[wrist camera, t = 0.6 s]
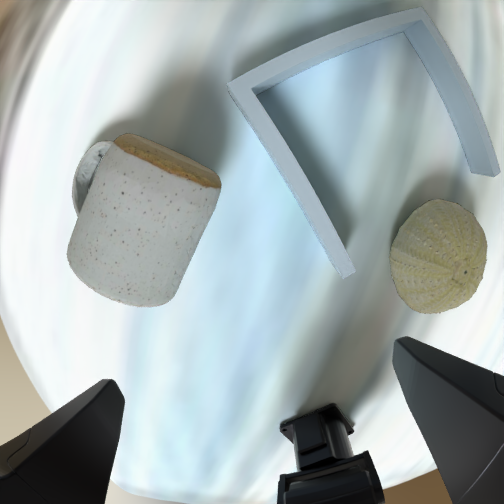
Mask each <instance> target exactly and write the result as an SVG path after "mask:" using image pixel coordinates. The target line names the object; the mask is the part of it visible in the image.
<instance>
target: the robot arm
mask: <svg viewBox="0 0 504 504" xmlns="http://www.w3.org/2000/svg"><path fill="white" fill-rule="evenodd" d="M392 362H393V367H394V370H395V372H396V375H397V378H398V380H399V383H400V386H401V388H402V391H403V394H404V397H405V399H406V402H407V404H408V407H409V409H410V411H411V413H412V415H413V417H414V419H415V421H416V423H417V425H418V427H419V429H420V431H421V433H422V435H423V437H424V439H425V441H426V444H427V446H428V448H429V450H430V452H431V454H432V456H433V459H434V461H435V463H436V465H437V467H438V470H439V472H440V474H441V477H442V479H443V481H444V484H445V486H446V488H447V490H448V493H449V495H450V498H451V500H452V503H453V504H504V376H502V375H500V374H498V373H493V372H492V371H490V370H488V369H485V368H483V367H480V366H478V365H475V364H473V363H470V362H468V361H466V360H463V359H461V358H458V357H456V356H453V355H451V354H449V353H446V352H444V351H441V350H439V349H437V348H434V347H432V346H430V345H427V344H425V343H422V342H420V341H418V340H415V339H413V338H411V337H408V336H405V337H402V338H398V339H396V340H395V342H394V349H393V360H392ZM124 406H125V399H124V396H123V394H122V392H121V391H120V389H119V387H118V385H117V383H116V382H115V381H114V380H113V379H102V380H101V381H99V382H98V383H96V384H95V385H93V386H92V387H90V388H89V389H88V390H86V391H85V392H83V393H82V394H80V395H79V396H77V397H76V398H74V399H73V400H71V401H70V402H68V403H67V404H65V405H64V406H62V407H61V408H60V409H58V410H57V411H55V412H54V413H52V414H51V415H49V416H48V417H46V418H45V419H43V420H42V421H40V422H39V423H37V424H36V425H34V426H33V427H32V428H29V429H28V430H26V431H25V432H23V433H22V434H20V435H19V436H17V437H15V438H14V439H12V440H10V441H8V442H7V443H5V444H3V445H1V446H0V504H105V499H106V494H107V490H108V485H109V480H110V476H111V472H112V467H113V463H114V459H115V455H116V451H117V447H118V442H119V438H120V432H121V425H122V418H123V412H124ZM280 432H281V433H282V434H283V435H284V436H285V437H287V438H288V439H289V440H290V441H291V442H292V443H293V444H294V450H295V457H296V465H297V472H295V473H290V474H281V475H280V481H279V482H278V497H277V504H384V503H385V499H384V494H383V490H382V486H381V483H380V480H379V477H378V474H377V472H376V469H375V467H374V464H373V461H372V459H371V456H370V454H369V451H368V450H367V451H364V452H363V453H361V454H358V455H355V456H354V454H353V451H352V448H351V444H350V441H349V438H348V435H350V434H352V433H353V432H354V429H353V427H352V425H351V424H350V423H349V421H348V420H347V419H346V417H345V416H344V414H343V413H342V412H341V410H340V409H339V407H338V406H337V405H336V404H330V405H328V406H326V407H324V408H321V409H319V410H317V411H315V412H312V413H310V414H308V415H306V416H303V417H301V418H298V419H296V420H294V421H291V422H289V423H286V424H283V425H281V426H280Z"/></svg>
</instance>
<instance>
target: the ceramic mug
mask: <svg viewBox="0 0 504 504" xmlns="http://www.w3.org/2000/svg"><path fill="white" fill-rule="evenodd" d="M105 153H106V154H105ZM104 154H105V155H104ZM103 155H104V157H103V159H102V161H101V158H102V156H103ZM100 161H101V162H100ZM99 162H100V164H99V166H98V169H97V172H96V174H95V177H94V179H93V182H92V185H91V187H90V190H89V192H88V188H89V182H90V179H91V177H92V175H93V173H94V171H95V169H96V167H97V165H98V163H99ZM220 192H221V181H220V178H219V176H218V175H217V174H216V173H215V172H214V171H212V170H211V169H209V168H207V167H205V166H203V165H202V164H200V163H198V162H196V161H194V160H192V159H190V158H188V157H186V156H184V155H182V154H180V153H178V152H175V151H173V150H171V149H169V148H167V147H165V146H162V145H160V144H158V143H155V142H153V141H151V140H148V139H145V138H143V137H140V136H137V135H134V134H128V133H126V134H124V135H121V136H119V137H118V138H116V140H115V141H114V142H113V141H100V142H97V143H96V144H94V145H93V146H92V147H90V148H89V149H88V150H87V152H86V153H85V154H84V156H83V157H82V159H81V161H80V163H79V165H78V167H77V169H76V172H75V175H74V180H73V186H72V198H73V204H74V208H75V211H76V213H77V216H78V219H77V222H76V225H75V227H74V230H73V233H72V236H71V239H70V242H69V245H68V250H67V258H68V262H69V265H70V267H71V269H72V270H73V272H74V273H75V274H76V276H77V277H78V278H79V279H80V280H81V281H82V282H83V283H84V284H86V285H87V286H88V287H89V288H91V289H93V290H94V291H95V292H97V293H99V294H100V295H102V296H104V297H107V298H109V299H111V300H114V301H117V302H119V303H123V304H126V305H130V306H136V307H155V306H160V305H163V304H165V303H167V302H169V301H170V300H171V299H172V298H173V297H174V296H175V294H176V292H177V290H178V288H179V285H180V283H181V280H182V278H183V276H184V274H185V272H186V269H187V267H188V265H189V263H190V261H191V259H192V256H193V254H194V252H195V250H196V247H197V245H198V243H199V241H200V239H201V236H202V234H203V232H204V230H205V228H206V226H207V224H208V222H209V220H210V218H211V216H212V214H213V212H214V210H215V207H216V204H217V201H218V198H219V195H220Z"/></svg>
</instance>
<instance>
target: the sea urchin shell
mask: <svg viewBox="0 0 504 504" xmlns="http://www.w3.org/2000/svg"><path fill="white" fill-rule="evenodd" d="M486 252H487V241H486V237H485V234H484V231H483V229H482V227H481V226H480V224H479V223H478V221H477V220H476V219H475V217H474V216H473V214H472V213H471V212H468V211H467V210H465V209H464V208H462V207H461V205H459V204H458V203H454V202H450V201H446V200H441V199H435V200H429V201H428V202H426V203H424V204H423V205H422V206H421V207H419V208H418V209H415V210H414V211H413V213H412V214H411V215H410V216H409V218H408V219H407V220H406V221H405V223H404V224H403V225H402V226H401V227H400V228H399V232H398V234H397V236H396V238H395V239H394V242H393V244H392V246H391V251H390V256H389V258H390V264H391V273H392V274H391V276H392V277H393V280H394V282H395V285H396V289H397V293H398V294H399V296H400V297H401V298H402V299H403V300H404V301H405V303H406V304H407V305H408V306H409V307H410V308H411V309H413V310H415V311H417V312H419V313H424V314H426V313H427V314H431V313H436V314H437V313H441V312H444V311H447V310H449V309H454V308H456V307H458V306H459V305H461V304H463V303H464V302H466V301H468V300H469V299H470V298H471V297H472V296H473V294H474V293H475V292H476V290H477V288H478V285H479V283H480V281H481V280H482V279H483V272H484V268H485V264H486V261H487V259H486Z"/></svg>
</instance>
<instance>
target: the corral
mask: <svg viewBox="0 0 504 504" xmlns="http://www.w3.org/2000/svg"><path fill="white" fill-rule="evenodd" d="M401 32H404V33H405V35H406V36H407V38H408V40H409V41H410V43H411V44H412V46H413V47H414V49H415V51H416V52H417V54H418V55H419V57H420V59H421V60H422V62H423V64H424V66H425V67H426V69H427V71H428V73H429V75H430V76H431V78H432V80H433V82H434V84H435V86H436V88H437V90H438V92H439V94H440V96H441V98H442V100H443V102H444V104H445V106H446V108H447V110H448V113H449V115H450V117H451V119H452V122H453V124H454V126H455V129H456V131H457V134H458V136H459V139H460V141H461V144H462V146H463V149H464V152H465V155H466V157H467V160H468V163H469V166H470V169H471V172H472V173H475V174H480V175H486V176H491V177H495V176H496V175H498V174H499V173H500V168H499V164H498V161H497V158H496V154H495V151H494V148H493V145H492V142H491V139H490V136H489V133H488V130H487V128H486V125H485V122H484V120H483V117H482V115H481V112H480V110H479V107H478V105H477V103H476V100H475V98H474V96H473V94H472V91H471V89H470V87H469V85H468V83H467V81H466V79H465V77H464V75H463V73H462V71H461V69H460V67H459V65H458V63H457V61H456V60H455V58H454V56H453V54H452V52H451V51H450V49H449V47H448V45H447V44H446V42H445V40H444V39H443V37H442V36H441V34H440V32H439V31H438V29H437V28H436V26H435V25H434V23H433V22H432V20H431V19H430V17H429V16H428V14H427V13H426V12H425V10H424V9H423V7H417V8H413V9H408V10H404V11H400V12H396V13H392V14H389V15H385V16H382V17H378V18H375V19H371V20H368V21H365V22H362V23H359V24H356V25H353V26H350V27H347V28H344V29H342V30H339V31H336V32H334V33H331V34H328V35H326V36H323V37H321V38H318V39H316V40H313V41H311V42H309V43H306V44H304V45H302V46H299V47H297V48H295V49H293V50H290V51H288V52H286V53H284V54H282V55H280V56H278V57H276V58H274V59H272V60H270V61H268V62H266V63H264V64H262V65H260V66H258V67H256V68H254V69H252V70H250V71H248V72H246V73H245V74H243V75H241V76H239V77H237V78H236V79H234V80H232V81H230V82H229V83H227V87H228V90H229V94H230V96H231V97H232V98H233V100H234V101H235V103H236V104H237V106H238V107H239V109H240V110H241V112H242V113H243V115H244V116H245V118H246V119H247V121H248V122H249V124H250V126H251V127H252V129H253V130H254V132H255V133H256V135H257V136H258V138H259V140H260V141H261V143H262V144H263V146H264V147H265V149H266V151H267V152H268V154H269V155H270V157H271V159H272V160H273V162H274V163H275V165H276V167H277V168H278V170H279V172H280V173H281V175H282V177H283V178H284V180H285V182H286V183H287V185H288V187H289V188H290V190H291V192H292V193H293V195H294V197H295V199H296V200H297V202H298V204H299V205H300V207H301V209H302V211H303V212H304V214H305V216H306V218H307V219H308V221H309V223H310V225H311V226H312V228H313V230H314V232H315V234H316V235H317V237H318V239H319V241H320V243H321V244H322V246H323V248H324V250H325V252H326V254H327V256H328V257H329V259H330V261H331V263H332V264H333V266H334V267H335V269H336V270H337V271H338V273H339V274H340V275H341V277H342V278H343V279H345V278H346V277H348V276H350V275H351V274H353V273H355V272H356V270H355V268H354V266H353V264H352V261H351V259H350V257H349V255H348V253H347V251H346V249H345V247H344V245H343V243H342V242H341V240H340V238H339V236H338V234H337V232H336V230H335V228H334V226H333V224H332V222H331V220H330V219H329V217H328V215H327V213H326V211H325V209H324V207H323V206H322V204H321V202H320V200H319V198H318V197H317V195H316V193H315V191H314V189H313V188H312V186H311V184H310V182H309V181H308V179H307V177H306V175H305V174H304V172H303V170H302V169H301V167H300V165H299V163H298V162H297V160H296V158H295V157H294V155H293V153H292V152H291V150H290V149H289V147H288V145H287V144H286V142H285V140H284V139H283V137H282V136H281V134H280V132H279V131H278V129H277V128H276V126H275V124H274V123H273V121H272V120H271V118H270V117H269V115H268V114H267V112H266V111H265V109H264V108H263V106H262V105H261V103H260V102H259V100H258V99H257V97H256V95H258V94H260V93H261V92H263V91H265V90H267V89H269V88H271V87H273V86H274V85H276V84H278V83H280V82H282V81H284V80H286V79H288V78H290V77H292V76H294V75H296V74H298V73H300V72H302V71H304V70H307V69H309V68H311V67H313V66H315V65H317V64H320V63H322V62H324V61H326V60H329V59H331V58H333V57H336V56H338V55H340V54H343V53H345V52H348V51H350V50H353V49H355V48H358V47H360V46H363V45H366V44H368V43H371V42H374V41H377V40H380V39H382V38H385V37H388V36H391V35H394V34H397V33H401Z"/></svg>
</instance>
